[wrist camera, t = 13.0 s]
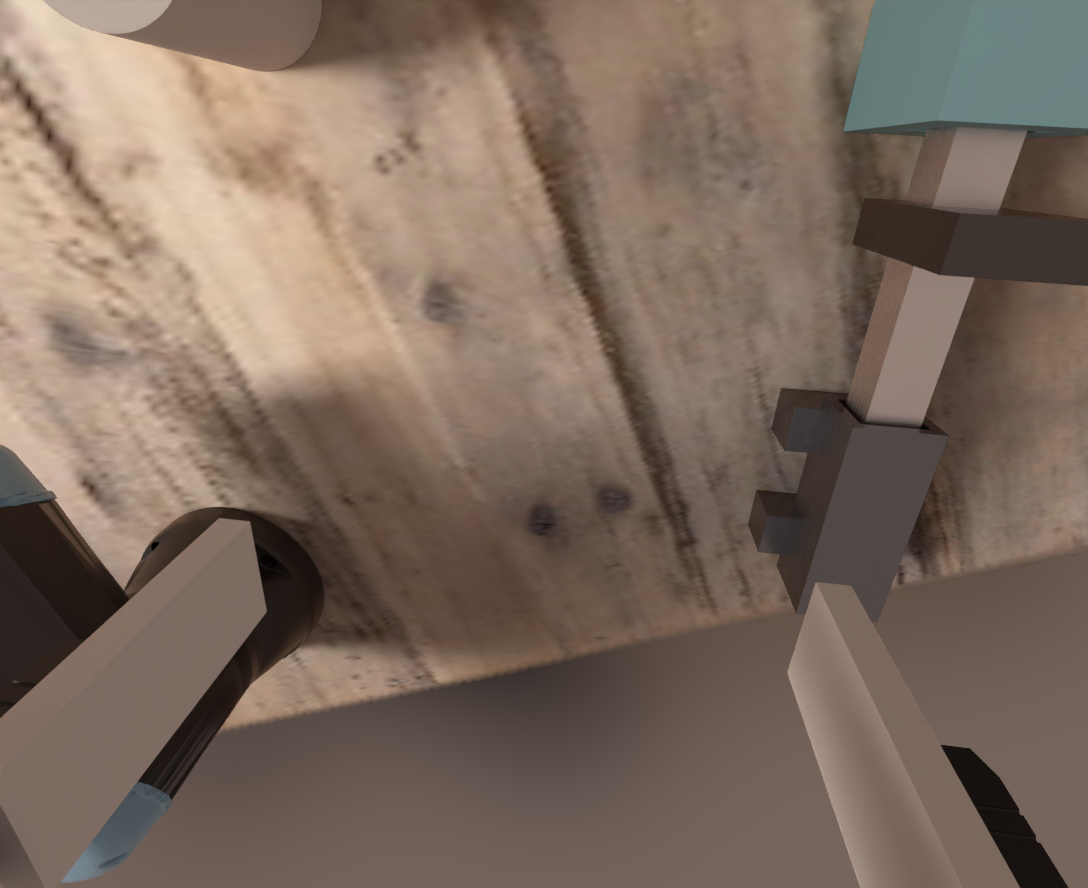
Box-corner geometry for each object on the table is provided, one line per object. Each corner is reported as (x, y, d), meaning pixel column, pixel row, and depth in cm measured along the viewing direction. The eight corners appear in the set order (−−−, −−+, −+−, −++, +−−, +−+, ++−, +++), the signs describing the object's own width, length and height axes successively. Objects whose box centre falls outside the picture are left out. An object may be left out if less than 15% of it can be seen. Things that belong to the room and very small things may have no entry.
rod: (878, 496, 40) (955, 594, 31) (787, 488, 41) (837, 581, 32) (1031, 56, 29) (1217, 10, 20) (904, 50, 30) (1030, 2, 21)
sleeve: (853, 546, 45) (901, 625, 38) (745, 535, 46) (772, 610, 38) (907, 384, 40) (978, 438, 32) (784, 374, 40) (824, 424, 33)
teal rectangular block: (990, 139, 33) (1149, 131, 24) (843, 131, 34) (937, 120, 24) (1034, 9, 31) (1234, -62, 21) (874, 2, 31) (994, -70, 21)
